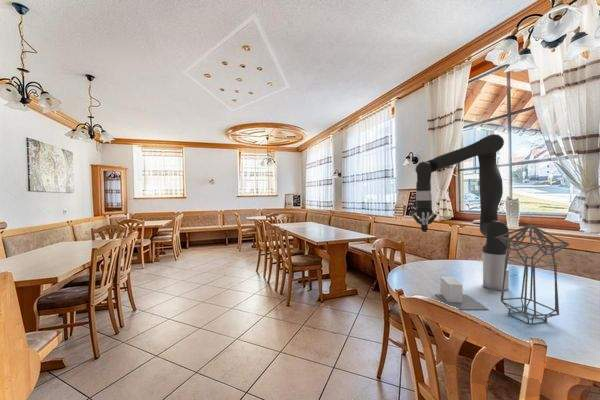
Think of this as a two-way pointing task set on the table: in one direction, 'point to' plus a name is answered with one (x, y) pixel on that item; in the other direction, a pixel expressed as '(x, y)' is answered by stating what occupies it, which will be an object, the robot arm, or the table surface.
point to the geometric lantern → (539, 234)
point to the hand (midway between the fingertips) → (424, 231)
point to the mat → (464, 303)
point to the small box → (451, 289)
